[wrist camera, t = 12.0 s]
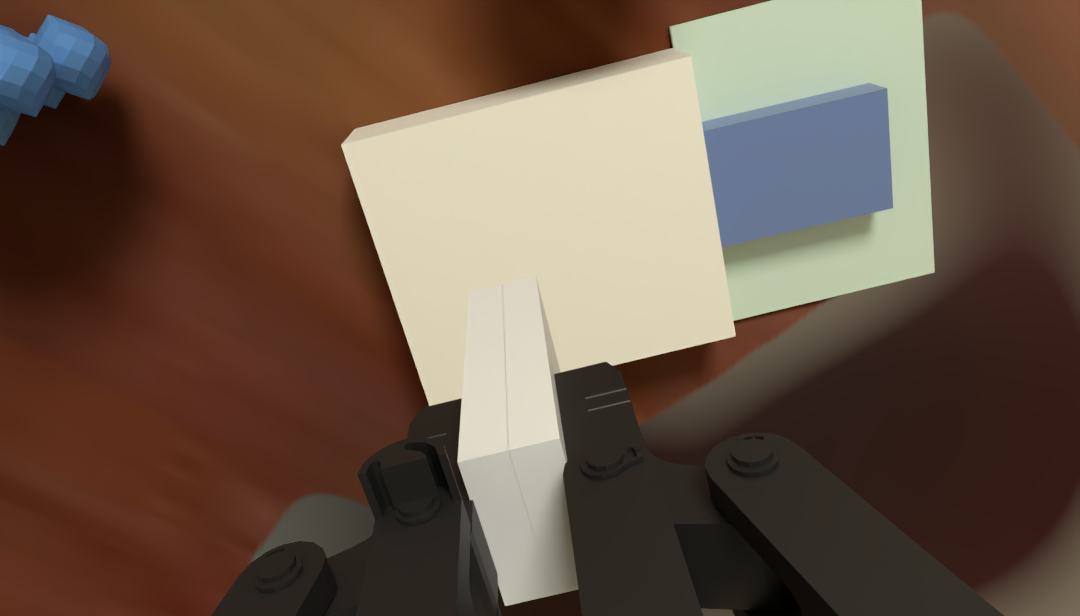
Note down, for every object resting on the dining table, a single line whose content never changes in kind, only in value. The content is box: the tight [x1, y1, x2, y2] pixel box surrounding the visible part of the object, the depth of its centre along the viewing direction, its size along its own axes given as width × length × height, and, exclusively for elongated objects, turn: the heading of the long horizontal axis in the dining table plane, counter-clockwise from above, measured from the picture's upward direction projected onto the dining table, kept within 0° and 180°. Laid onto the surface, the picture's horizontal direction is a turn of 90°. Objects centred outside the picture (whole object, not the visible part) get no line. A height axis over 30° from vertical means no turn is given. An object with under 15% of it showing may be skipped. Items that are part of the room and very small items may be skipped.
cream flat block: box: [341, 48, 736, 406], centre depth 40 cm, size 16×14×4 cm
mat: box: [669, 0, 935, 321], centre depth 42 cm, size 12×16×1 cm
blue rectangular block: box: [702, 83, 893, 247], centre depth 40 cm, size 9×6×2 cm, turn 103°
